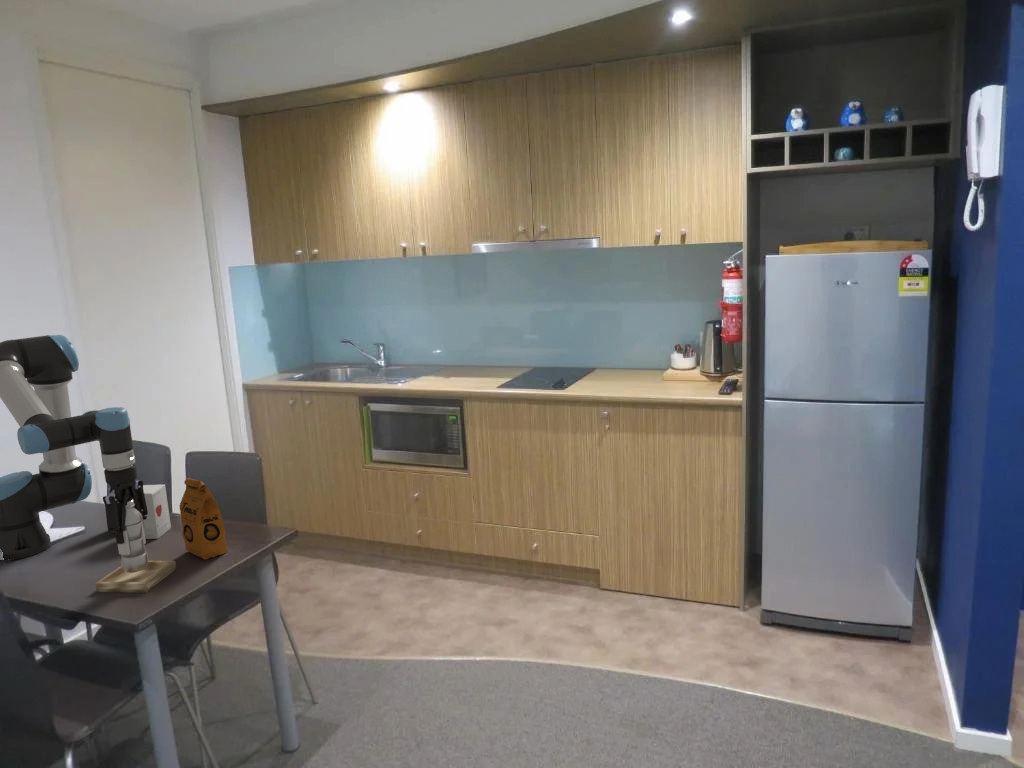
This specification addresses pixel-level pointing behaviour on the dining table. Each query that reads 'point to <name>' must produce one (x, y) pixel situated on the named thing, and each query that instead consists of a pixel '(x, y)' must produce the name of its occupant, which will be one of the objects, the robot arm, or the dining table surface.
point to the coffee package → (201, 521)
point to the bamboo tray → (136, 578)
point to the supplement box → (156, 511)
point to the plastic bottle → (134, 540)
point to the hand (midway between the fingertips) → (132, 548)
